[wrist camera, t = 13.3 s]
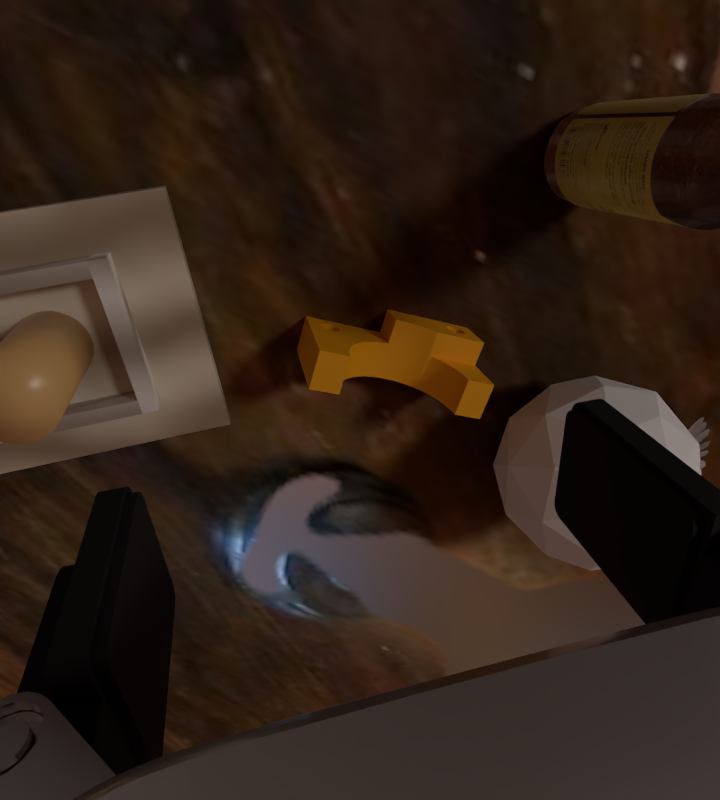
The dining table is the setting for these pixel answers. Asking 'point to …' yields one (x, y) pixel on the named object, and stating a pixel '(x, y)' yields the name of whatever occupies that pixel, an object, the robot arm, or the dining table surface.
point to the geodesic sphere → (541, 449)
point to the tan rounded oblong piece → (40, 374)
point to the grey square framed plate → (112, 321)
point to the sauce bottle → (641, 159)
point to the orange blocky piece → (398, 358)
